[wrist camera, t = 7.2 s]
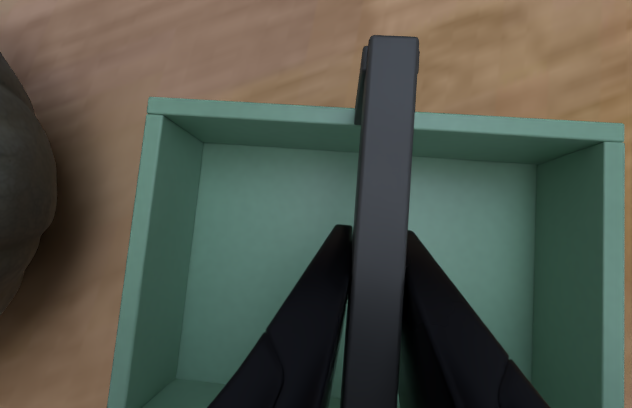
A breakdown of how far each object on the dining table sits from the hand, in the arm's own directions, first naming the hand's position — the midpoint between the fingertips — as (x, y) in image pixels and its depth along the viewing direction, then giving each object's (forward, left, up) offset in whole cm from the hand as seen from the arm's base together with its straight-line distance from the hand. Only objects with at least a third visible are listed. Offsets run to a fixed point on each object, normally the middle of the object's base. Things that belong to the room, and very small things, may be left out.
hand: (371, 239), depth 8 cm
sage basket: (-1, -1, -6) cm, 6 cm away
